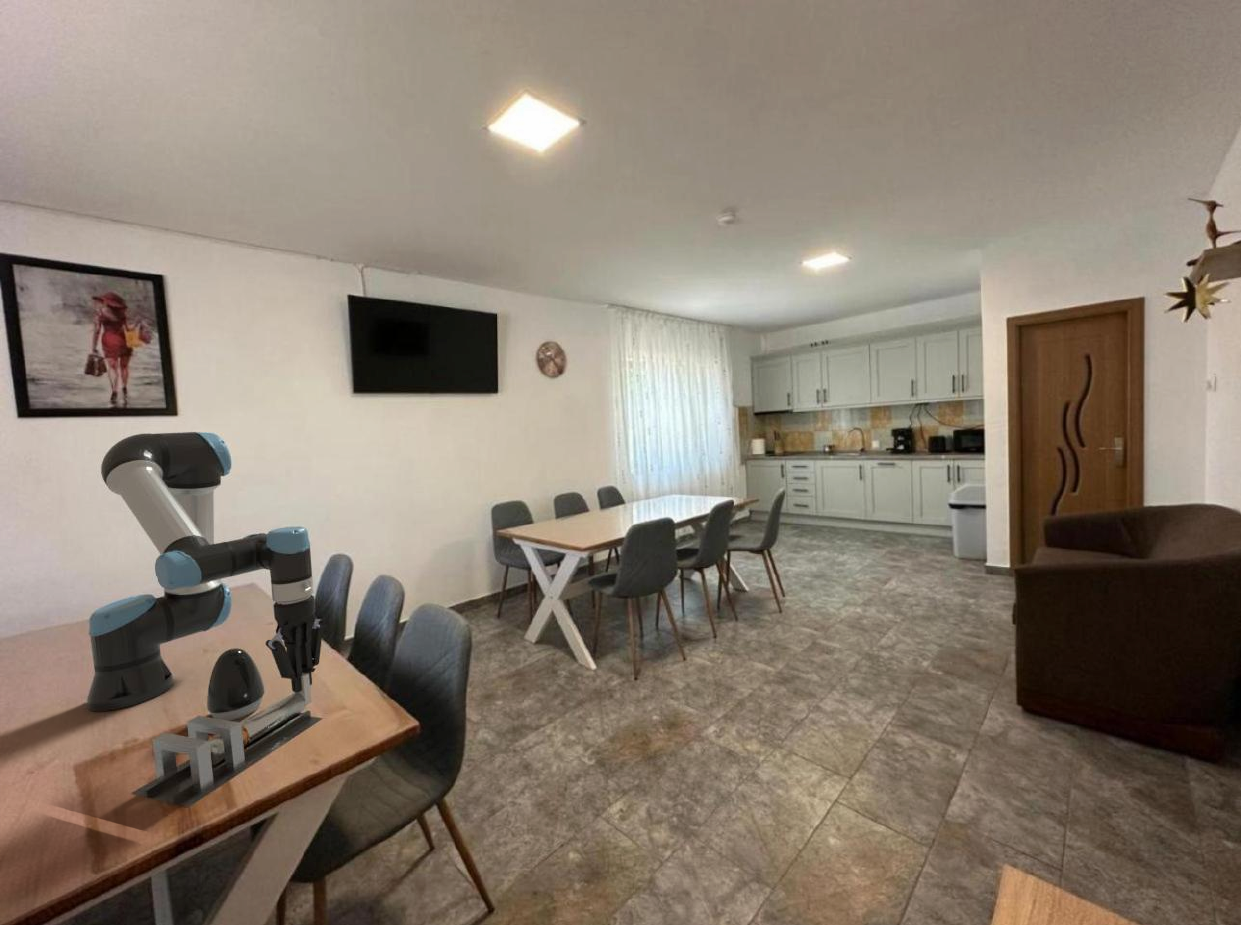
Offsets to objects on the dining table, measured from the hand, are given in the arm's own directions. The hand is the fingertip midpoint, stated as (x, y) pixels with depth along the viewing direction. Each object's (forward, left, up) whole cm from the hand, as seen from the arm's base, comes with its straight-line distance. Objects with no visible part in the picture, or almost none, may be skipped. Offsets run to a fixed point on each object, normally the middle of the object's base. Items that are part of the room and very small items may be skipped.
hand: (303, 702), depth 111 cm
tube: (0, -10, -2) cm, 10 cm away
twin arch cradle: (0, -15, -3) cm, 15 cm away
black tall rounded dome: (-15, -4, -3) cm, 16 cm away
